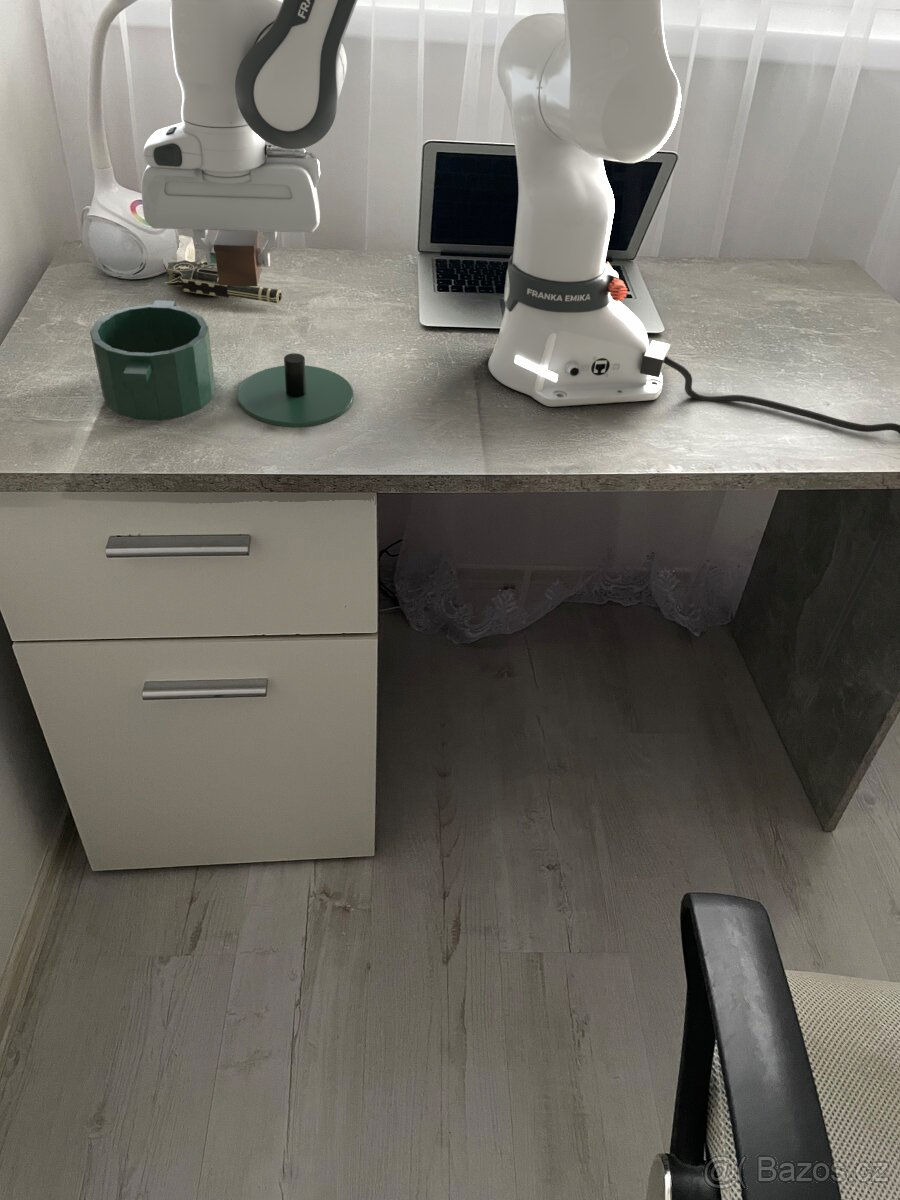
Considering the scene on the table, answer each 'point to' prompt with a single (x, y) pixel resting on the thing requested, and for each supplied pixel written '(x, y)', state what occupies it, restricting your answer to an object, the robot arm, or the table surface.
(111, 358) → the pot
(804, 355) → the table surface
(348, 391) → the pot lid
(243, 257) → the walnut box
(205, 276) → the revolver
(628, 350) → the robot arm
